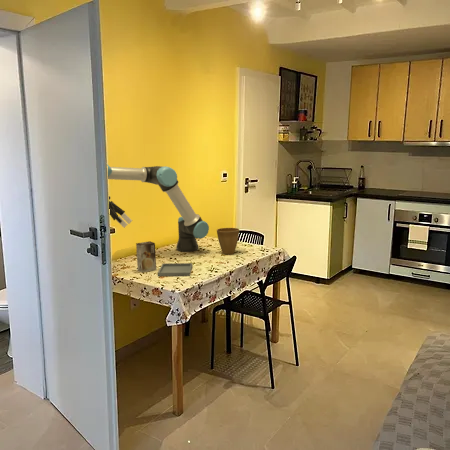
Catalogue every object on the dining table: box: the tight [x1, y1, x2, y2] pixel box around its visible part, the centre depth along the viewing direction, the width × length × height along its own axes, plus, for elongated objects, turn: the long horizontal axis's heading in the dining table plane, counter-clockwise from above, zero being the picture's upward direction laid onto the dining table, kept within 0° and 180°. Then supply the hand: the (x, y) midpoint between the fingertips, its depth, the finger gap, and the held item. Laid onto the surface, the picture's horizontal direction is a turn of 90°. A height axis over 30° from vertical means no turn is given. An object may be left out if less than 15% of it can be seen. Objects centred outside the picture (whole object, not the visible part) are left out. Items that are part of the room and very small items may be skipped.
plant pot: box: [216, 227, 240, 255], centre depth 298 cm, size 15×15×16 cm
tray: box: [157, 262, 193, 277], centre depth 258 cm, size 20×18×2 cm
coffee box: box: [135, 241, 157, 273], centre depth 259 cm, size 9×6×16 cm
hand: (128, 224), depth 256 cm, fingers open, 13 cm apart
